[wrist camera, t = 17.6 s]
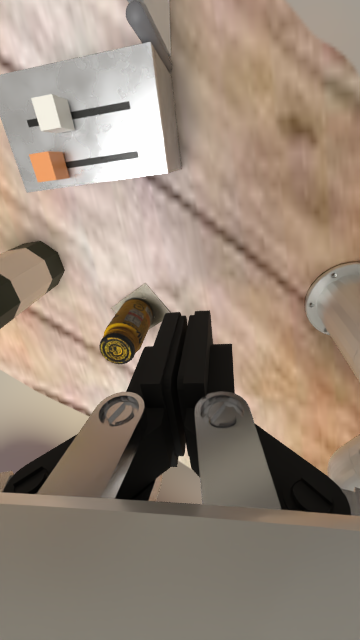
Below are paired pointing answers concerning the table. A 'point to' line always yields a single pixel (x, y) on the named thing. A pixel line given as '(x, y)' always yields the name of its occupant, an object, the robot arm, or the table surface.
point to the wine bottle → (26, 277)
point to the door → (152, 25)
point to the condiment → (131, 324)
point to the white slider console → (96, 117)
